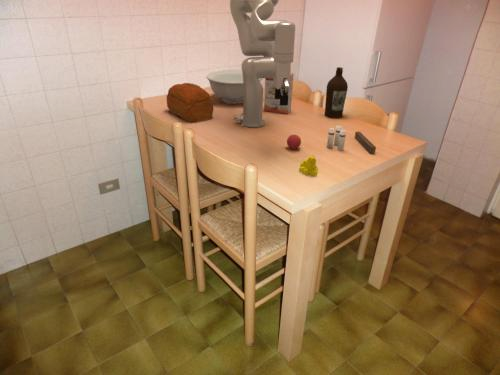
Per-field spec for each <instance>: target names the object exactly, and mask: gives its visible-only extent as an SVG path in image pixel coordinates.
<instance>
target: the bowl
mask: <svg viewBox="0 0 500 375" xmlns="http://www.w3.org/2000/svg"><path fill="white" fill-rule="evenodd" d="M206 79H207V80H208V81H209V86H210V90H212V93H213V94H215V95H216V96H217V97H219V98H221V101H222V102H223V101H224V102H223V103H226V102H227V103H226V104H231V103H238V104H243V75H242V69H223V70H217V71H213V72H210V73H208V74H207V75H206ZM258 80H259V82H260V83H261V81H262V80H263V78H261V79H258Z"/></svg>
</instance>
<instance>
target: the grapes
mask: <svg viewBox="0 0 500 375" xmlns="http://www.w3.org/2000/svg"><path fill="white" fill-rule="evenodd" d="M316 164H317V160H316V157H315V155H313V154H310V156H309V157H307V158H305V159H303V160H302V162H300V164H299V165H300V166H299V168H298V172H299V173H301V174H302V175H305V176H307V175H311V176H312V177H316V176H317V175H318V172H319V167H318V166H317V165H316Z"/></svg>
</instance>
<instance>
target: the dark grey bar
mask: <svg viewBox="0 0 500 375" xmlns="http://www.w3.org/2000/svg"><path fill="white" fill-rule="evenodd" d="M354 139H355V140H356V141H357V142H358V144H360V145H361V146H362V147H363V148H364V150H366V151H367V153H368V154H370V155H372V154H373V155H375V154H376V149H377V147H376V145H375V144H374V143H372V142H371V141H370V140H369V139H368V138H367V137H366V136H365V135H364V134H363V133H362V132H361V131H355V133H354Z"/></svg>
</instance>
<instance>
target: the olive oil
mask: <svg viewBox="0 0 500 375" xmlns="http://www.w3.org/2000/svg"><path fill="white" fill-rule="evenodd" d="M343 72H344V67H341V66H340V67H339V66H338V67H336V70H335V75H334V76H333V77H332V78H331V79H330V80H329V81H328V83H327V85H326V90H325V93H326V94H325V104H324V106H325V107H324V117H325V118H329V119H341V118H342V117H343V114H344V109H345V103H346V102H345V101H346V98H347V93H348V88H349V86H348V82H347V80H346V79H345V78H344V76H343Z"/></svg>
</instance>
